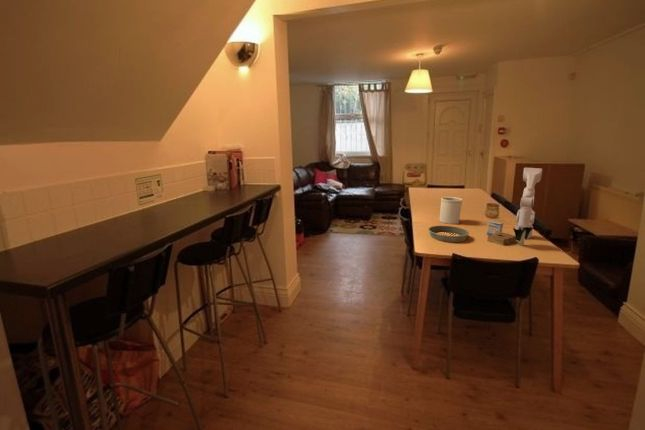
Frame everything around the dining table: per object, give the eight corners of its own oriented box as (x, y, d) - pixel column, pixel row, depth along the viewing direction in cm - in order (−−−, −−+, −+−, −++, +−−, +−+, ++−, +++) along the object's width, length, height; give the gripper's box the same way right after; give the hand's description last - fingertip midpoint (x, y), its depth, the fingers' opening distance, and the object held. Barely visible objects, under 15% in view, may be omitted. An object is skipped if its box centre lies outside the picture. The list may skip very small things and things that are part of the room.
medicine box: (486, 234, 229) (488, 221, 227) (488, 233, 232) (490, 220, 230) (499, 237, 223) (500, 224, 221) (501, 235, 226) (503, 222, 224)
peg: (519, 243, 210) (521, 229, 208) (524, 245, 208) (526, 230, 206) (516, 244, 209) (518, 230, 207) (521, 246, 206) (523, 231, 204)
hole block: (500, 237, 223) (501, 232, 222) (515, 241, 215) (516, 236, 214) (487, 240, 215) (488, 235, 215) (502, 245, 207) (503, 239, 206)
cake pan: (449, 230, 238) (450, 223, 237) (477, 240, 216) (477, 233, 215) (419, 233, 230) (420, 227, 228) (444, 245, 207) (445, 237, 206)
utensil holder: (456, 219, 266) (459, 196, 261) (462, 224, 251) (465, 200, 247) (437, 218, 267) (439, 196, 263) (441, 224, 253) (443, 200, 248)
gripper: (525, 220, 197) (521, 243, 201) (538, 217, 205) (534, 239, 208) (512, 217, 203) (509, 240, 206) (526, 214, 211) (522, 236, 214)
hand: (521, 239), depth 208 cm, fingers open, 7 cm apart
